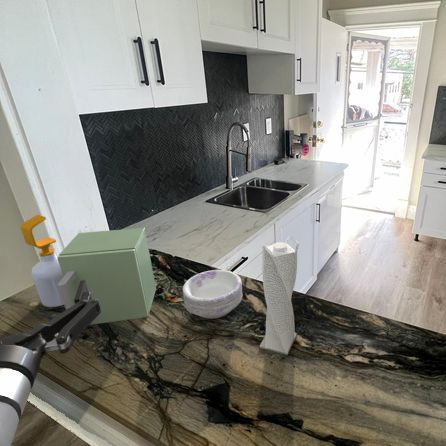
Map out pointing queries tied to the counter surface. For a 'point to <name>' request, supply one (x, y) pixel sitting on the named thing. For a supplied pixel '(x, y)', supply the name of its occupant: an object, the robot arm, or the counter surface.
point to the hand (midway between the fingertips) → (40, 294)
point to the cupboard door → (105, 283)
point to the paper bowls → (212, 293)
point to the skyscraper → (279, 295)
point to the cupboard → (119, 241)
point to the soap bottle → (44, 265)
